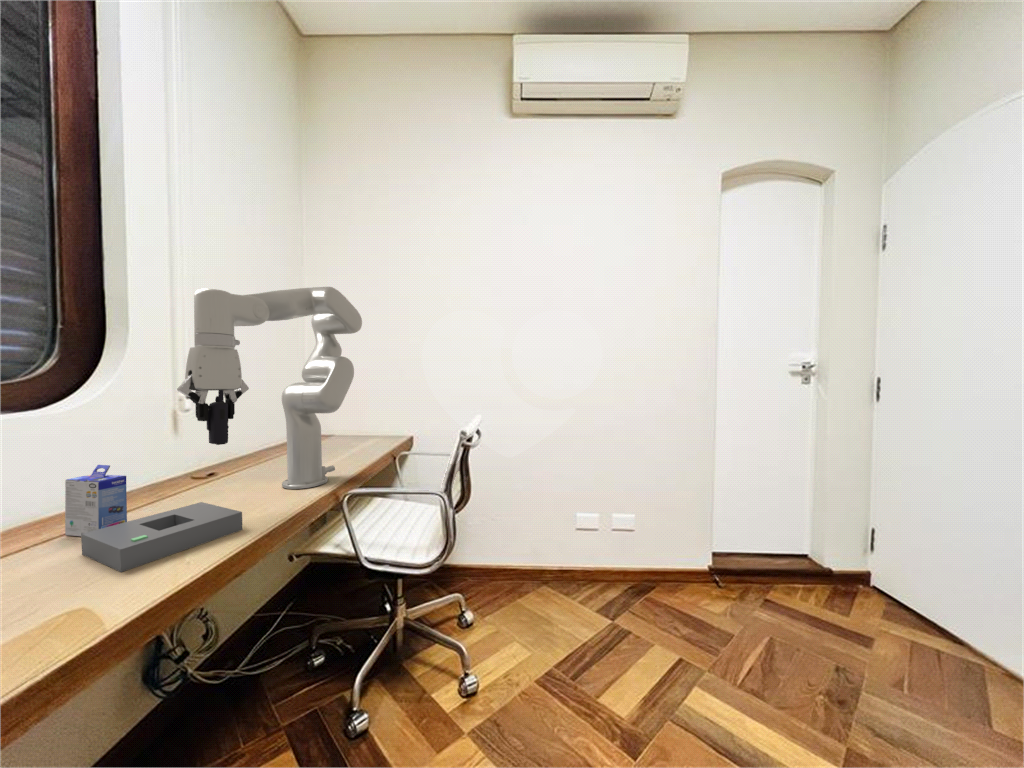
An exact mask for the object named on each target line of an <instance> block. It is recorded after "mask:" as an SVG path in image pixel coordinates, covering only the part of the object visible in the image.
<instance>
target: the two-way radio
mask: <svg viewBox="0 0 1024 768" xmlns="http://www.w3.org/2000/svg"><path fill="white" fill-rule="evenodd" d="M217 391H218V395H216V396H215V401H213V402H211V403H207V402H205V404H208V420H207V421H206V430H207V431H208V444H211V445H216V446H219V445H226V444H228V442H229V427H230V425H229V420H230V419H228V404H227V403H226V402H225V398H224V394H223V390H217Z"/></svg>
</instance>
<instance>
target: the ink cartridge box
mask: <svg viewBox="0 0 1024 768" xmlns="http://www.w3.org/2000/svg"><path fill="white" fill-rule="evenodd" d="M110 467H111V465H108V464H107V465H106V464H97V465H96V466H95V468H94V469H93V470H92V473H91V474H88V475H83V476H77V477H76V476H75V477H72V478H67V479H65V480H64V484H65V485H64V486H65V488H64V489H65V492H64V493H65V494H64V495H65V496H64V497H65V498H64V499H65V500H64V501H65V502H64V503H65V507H64V509H65V513H64V514H65V516H64V517H65V519H64V523H65V524H64V525H65V526H64V527H65V529H64V532H65V533H64V534H65V536H74V537H81V534H83V533H86V532H90V531H94V530H98V529H102V528H105V527H109V526H113V525H117V524H120V523H124V522H128V509H127V508H128V507H127V505H128V504H127V502H128V501H127V500H128V499H127V496H128V495H127V475H122V474H121V475H120V474H119V475H116V474H107V473H108V471H109V470H110ZM99 469H103V471H98V470H99Z"/></svg>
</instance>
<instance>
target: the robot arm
mask: <svg viewBox="0 0 1024 768" xmlns="http://www.w3.org/2000/svg"><path fill="white" fill-rule="evenodd" d="M193 296H194V297H193V313H194V314H193V316H194V318H193V319H194V321H193V324H194V325H193V326H194V334H193V336H194V346H193V347H189V350H188V354H187V358H186V365H185V374H184V375H185V376H184V378H185V379H184V380H183V381H182V383H181V384H180V385H179V386H178V388H177V392H178V393H180V394H182V395H184V396H186V398H188V399H189V400H190V401H192V403H193V404H195V418H197V422H207V420H208V405H209V403H208V404H205V403H206V400H207V397H208V393H209V391H219V390H223V397H224V402H226V403H227V404H228V420H233V419H234V415H235V414H236V411H235V403H236V402H237V401H238V399H240V397H241V396H242V395H243V394H245V393H246V392H247V391H249V390H250V388H249V386H248V385H247V384H246V383H245V381H244V380H243V376H242V366H241V365H242V363H241V360H240V355H239V352H238V349H236V346H240V344H241V343H240V342H241V341H240V340H239V339H236V336H235V327H254V326H259V325H262V324H264V323H265V322H279V321H288V320H293V319H298V318H303V317H308V316H309V317H310V316H312V317H311V320H310V321H311V327H312V330H313V334H314V338H315V339H314V340H315V345H314V348H313V349H312V351H311V353H310V354H309V356H308V359H306V362H305V364H304V365H303V367H302V370H301V378H302V379H303V382H295V383H291V384H289V385H288V386H286V387H285V388H284V389H283V391H282V394H281V405H282V408H283V412H284V418H285V425H286V426H285V427H286V430H285V431H286V460H287V461H286V465H287V466H286V467H287V479H285V480H283V481H282V482H281V487H282V488H284V489H286V490H287V489H289V490H300V489H309V488H314V487H319V486H321V485H325V484H326V483H327V482H329V481H328V478H329V477H328V476H327V473H332V472H334V471H335V470H336V467H335V465H334V464H333V465H329V466H324V465H323V456H322V455H323V454H322V452H323V451H322V448H323V447H322V427H321V422H320V420H319V418H318V417H317V414H332V413H335V412H337V411H338V410H339V409H340V407H342V404H343V402H344V400H345V398H346V396H347V394H348V392H349V389H350V387H351V385H352V383H353V380H354V375H355V368H354V364H353V362H352V361H351V359H350V358H348V357H345V356H342V352H343V349H342V346H341V345H340V343H339V341H338V340H337V337H336V336H335V335H347V334H348V335H349V334H356V333H358V332H359V331H360V330H361V329H362V326H363V319H362V316H361V314H360V312H359V310H357V308H356V307H355V306H354V305H353V304H352V303H351V302H350V301H349V299H348V298H347V297H346V296H345V295H344V294H343V293H342V292H341V291H339V290H338V289H336V288H335V287H333V286H317V287H316V286H315V287H314V286H313V287H301V288H291V289H290V288H289V289H279V290H271V291H264V292H258V293H252V294H234V293H230V292H229V291H226V290H222V289H217V288H201V289H199V288H198V289H197V290H196V291H194V295H193ZM194 391H195V392H194Z"/></svg>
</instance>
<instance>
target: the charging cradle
mask: <svg viewBox="0 0 1024 768" xmlns="http://www.w3.org/2000/svg"><path fill="white" fill-rule="evenodd" d="M243 528H244V527H243V511H240V510H235V509H232V508H228V507H224V506H220V505H215V504H211V503H207V502H203V501H200V502H198V503H191V504H188V505H185V506H181V507H178V508H174V509H170V510H165V511H163V512H159V513H155V514H151V515H146V516H142V517H140V518H136V519H132V520H129V521H128V520H127V522H124V523H120V524H117V525H113V526H109V527H105V528H102V529H98V530H94V531H90V532H86V533H83V534H81V536H80V538H81V541H80V542H81V555H82V556H85V557H87V558H89V559H91V560H93V561H95V562H98V563H100V564H102V565H103V566H104V565H105V566H107V567H109V568H110V569H113V570H115V571H117V572H119V573H123V572H126V571H128V570H131V569H135V568H137V567H140V566H143V565H146V564H149V563H151V562H153V561H154V562H155V561H157V560H160V559H163V558H165V557H166V558H167V557H168V556H171V555H174V554H177V553H180V552H182V551H186V550H189V549H191V548H194V547H197V546H200V545H203V544H205V543H208V542H212V541H215V540H217V539H220V538H223V537H226V536H229V535H232V534H235V533H238V532H241V531H243Z"/></svg>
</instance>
